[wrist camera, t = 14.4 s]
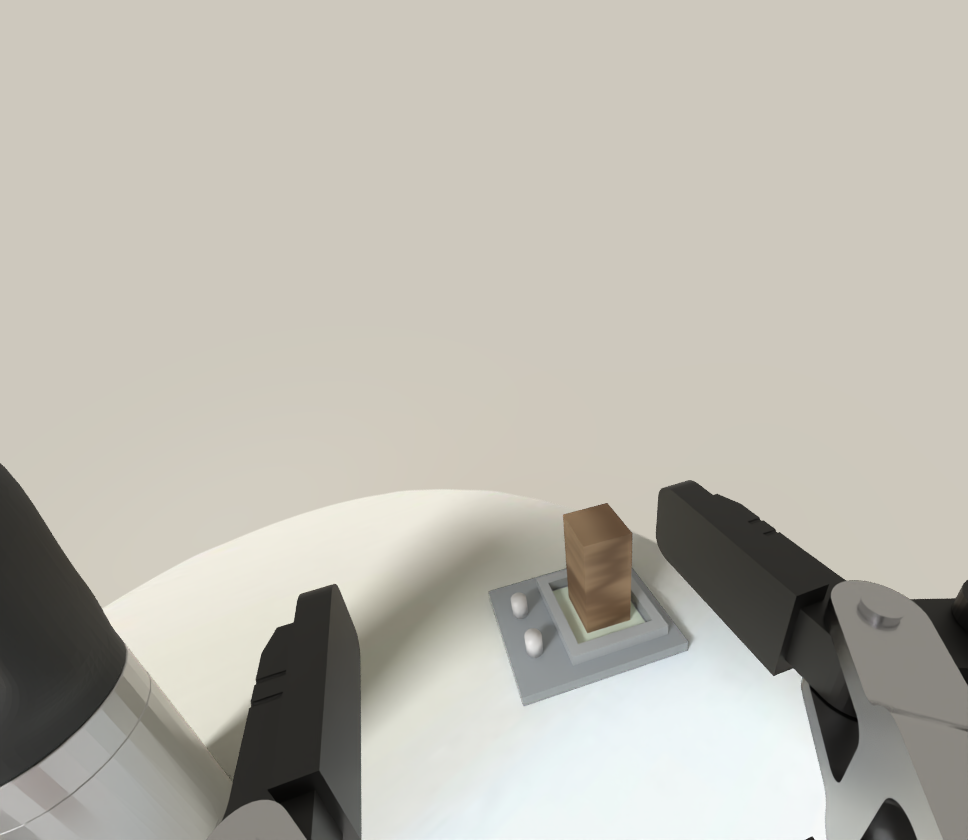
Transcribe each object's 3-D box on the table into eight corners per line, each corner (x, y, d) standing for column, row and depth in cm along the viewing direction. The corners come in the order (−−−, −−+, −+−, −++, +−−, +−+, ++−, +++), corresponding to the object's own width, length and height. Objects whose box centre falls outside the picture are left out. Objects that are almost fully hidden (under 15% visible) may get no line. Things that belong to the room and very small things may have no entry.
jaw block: (587, 633, 41) (583, 546, 36) (568, 596, 45) (562, 514, 40) (630, 619, 41) (632, 533, 36) (607, 585, 45) (607, 502, 40)
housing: (523, 706, 37) (519, 683, 35) (489, 598, 47) (486, 578, 46) (687, 650, 39) (690, 627, 38) (620, 560, 50) (620, 539, 48)
